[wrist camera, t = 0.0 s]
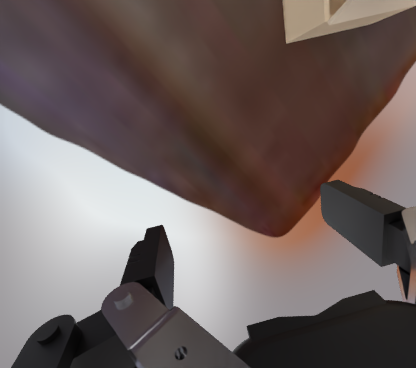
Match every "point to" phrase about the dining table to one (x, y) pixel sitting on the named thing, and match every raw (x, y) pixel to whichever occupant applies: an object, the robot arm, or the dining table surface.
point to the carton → (320, 18)
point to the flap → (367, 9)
